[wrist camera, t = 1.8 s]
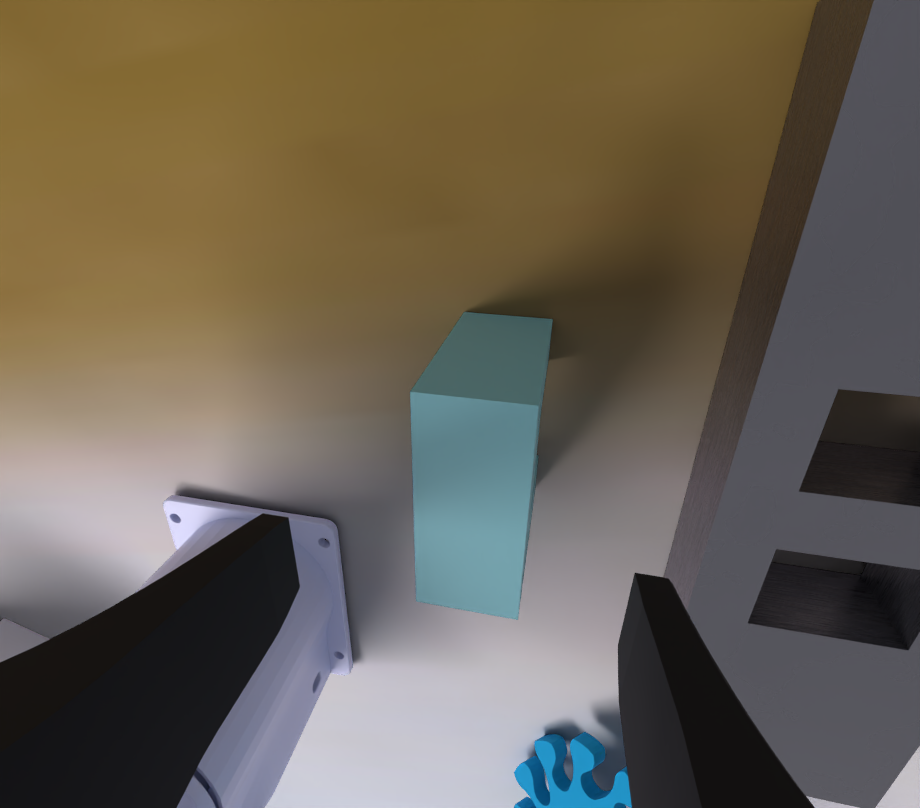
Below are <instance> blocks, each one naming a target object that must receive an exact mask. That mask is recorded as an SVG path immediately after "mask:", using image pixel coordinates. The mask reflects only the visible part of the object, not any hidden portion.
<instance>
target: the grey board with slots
mask: <svg viewBox="0 0 920 808" xmlns="http://www.w3.org/2000/svg"><path fill="white" fill-rule="evenodd" d="M838 389H843V390H853V391H864V392H874V393H885V394H895V395H906V396H917V397H920V0H821V1H819V2H817V6H816V9H815V13H814V17H813V21H812V24H811V28H810V32H809V36H808V39H807V43H806V47H805V50H804V54H803V58H802V62H801V65H800V69H799V73H798V77H797V80H796V84H795V88H794V92H793V95H792V99H791V103H790V107H789V110H788V114H787V118H786V122H785V125H784V129H783V133H782V137H781V140H780V144H779V148H778V151H777V155H776V159H775V163H774V166H773V170H772V174H771V178H770V181H769V185H768V189H767V193H766V196H765V200H764V204H763V208H762V211H761V215H760V219H759V223H758V226H757V230H756V234H755V237H754V241H753V245H752V249H751V252H750V256H749V260H748V264H747V267H746V271H745V275H744V279H743V282H742V286H741V290H740V294H739V297H738V301H737V305H736V309H735V312H734V316H733V320H732V323H731V327H730V331H729V335H728V338H727V342H726V346H725V350H724V353H723V357H722V361H721V365H720V368H719V372H718V376H717V380H716V383H715V387H714V391H713V395H712V398H711V402H710V406H709V410H708V413H707V417H706V421H705V424H704V428H703V432H702V436H701V439H700V443H699V447H698V451H697V454H696V458H695V462H694V466H693V469H692V473H691V477H690V481H689V484H688V488H687V492H686V496H685V499H684V503H683V507H682V510H681V514H680V518H679V522H678V525H677V529H676V533H675V537H674V540H673V544H672V548H671V552H670V555H669V559H668V563H667V567H666V570H665V574H664V578H668V579H669V580H670V581H671V582H672V583H673V585H674V587H675V589H676V591H677V593H678V595H679V597H680V599H681V601H682V603H683V605H684V607H685V609H686V610H687V612H688V614H689V616H690V618H691V620H692V622H693V624H694V625H695V627H696V629H697V631H698V632H699V634H700V636H701V638H702V640H703V641H704V643H705V645H706V647H707V648H708V650H709V652H710V654H711V655H712V657H713V659H714V660H715V662H716V664H717V665H718V667H719V669H720V670H721V672H722V673H723V675H724V677H725V678H726V680H727V682H728V683H729V685H730V686H731V688H732V690H733V691H734V693H735V695H736V696H737V698H738V699H739V701H740V702H741V704H742V706H743V707H744V709H745V710H746V712H747V713H748V715H749V716H750V718H751V719H752V721H753V722H754V724H755V725H756V727H757V728H758V730H759V731H760V733H761V734H762V736H763V737H764V739H765V740H766V741H767V743H768V744H769V746H770V747H771V749H772V750H773V752H774V753H775V755H776V756H777V757H778V759H779V760H780V762H781V763H782V764H783V766H784V767H785V769H786V770H787V771H788V773H789V774H790V775H791V777H792V778H793V780H794V781H795V782H796V784H797V785H798V786H799V788H800V789H801V790H802V792H803V793H804V794H805V796H809V797H813V798H818V799H823V800H827V801H832V802H836V803H841V804H845V805H850V806H855V807H859V808H875V807H876V806H877V804H878V803H879V802H880V800H881V799H882V797H883V796H884V795H885V793H886V792H887V790H888V789H889V788H890V786H891V785H892V783H893V782H894V781H895V779H896V778H897V776H898V775H899V774H900V772H901V771H902V769H903V768H904V767H905V765H906V764H907V762H908V761H909V760H910V758H911V757H912V755H913V754H914V753H915V751H916V750H917V748H918V747H919V746H920V452H912V451H903V450H894V449H885V448H876V447H867V446H858V445H849V444H840V443H831V442H822V441H818V440H819V438H820V435H821V433H822V430H823V428H824V425H825V422H826V420H827V417H828V415H829V412H830V409H831V407H832V404H833V402H834V399H835V397H836V394H837V391H838ZM776 549H779V550H786V551H793V552H800V553H807V554H813V555H820V556H827V557H834V558H841V559H848V560H855V561H862V562H867V564H866V566H865V568H864V570H863V572H862V574H861V576H859V575H852V574H846V573H839V572H832V571H826V570H819V569H812V568H806V567H799V566H792V565H786V564H779V563H772V562H771V561H772V559H773V556H774V554H775V551H776Z"/></svg>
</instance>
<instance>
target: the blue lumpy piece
mask: <svg viewBox="0 0 920 808" xmlns="http://www.w3.org/2000/svg"><path fill="white" fill-rule="evenodd" d="M535 751H536V754H537V756H538V758H539V759H538V758H537V757H536V756H533V757H531V758H530V759H528V760H526V761H525V762H523V763H521V764H520V765H519V766H518V767H517V768H516V770H515V772H514V774H515V777H516V780H517V782H518V783H519V785H520V786H521V787H522V788H523V789H524V790H525V791H526V792H527V794H528V795H529V796H530V798H531V799H532V800H531V799H530V798H529V797H526V798H524V799H523V800H521V801H520V802H518V803H517V804H515V806H514V808H626V806H625V805H627V806H629V807H631V808H632V805H631V797H630V789H629V781H628V773H627V766H626V767H625V768H623V769H622V770H621V771H619V772H618V773H617V774H616V776H615V780H614V785H613V788H612V790H609V791H603V790H602V789H600V788H599V787H598V786H597V785H596V783H595V781H594V779H593V776H592V769H593V768H595V767H596V766H598V765H599V764H600V763H602V762H603V761H604V759H605V755H606V753H605V747H604V746H603V745H602V744H601V743H600V742H599V741H598V740H597V739H595V738H594V737H593V736H591V735H589V734H588V733H586V732H583V733H582V734H580V735H578V736H577V737H575V738H574V739H572V741H571V743H570V751H571V755H572V760H573V771H574V772H573V779H572V782H571V781H570V780H569V779H568V777H567V776H566V774H565V771H564V767H563V763H564V760H565V758H566V755H567V746H566V743H565V741H564V739H563V737H562V736H560V735H557V734H549V735H545V736H543V737H541V738H540V739H538V740H536V741H535ZM540 761H541V762H540ZM543 768H544V769H543ZM544 770H545V773H546V776H547V780H548V784H549V791H550V792H549V791H548V789H547V786H546V783H545V774H544Z"/></svg>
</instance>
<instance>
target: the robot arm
mask: <svg viewBox="0 0 920 808" xmlns="http://www.w3.org/2000/svg"><path fill="white" fill-rule="evenodd" d="M163 507H164V510H165V514H166V517H167V520H168V524H169V527H170V530H171V534H172V537H173V540H174V544H175V547H176V550H177V551H176V552H175V553H174V554H173V555H172V556H171V557H170V558H169V559H168V560H167V561H166V562H165V563H164V564H163V565H162V566H161V567H160V568H159V569H158V570H157V571H156V572H155V573H154V574H153V575H152V576H151V577H150V578H149V579H148V580H147V581H146V582H145V583H144V584H143V585H142V586H141V587H140V588H139V589H138V590H137V591H136V592H135V593H134V594H133V595H131V596H129V597H128V598H126V599H124V600H123V601H121V602H119V603H117V604H116V605H114V606H112V607H111V608H109V609H107V610H105V611H103V612H102V613H100V614H98V615H96V616H94V617H92V618H90V619H89V620H87V621H85V622H83V623H81V624H79V625H77V626H75V627H73V628H71V629H69V630H67V631H65V632H63V633H61V634H59V635H57V636H55V637H53V638H52V639H50V640H48V641H46V642H43V643H41V644H39V645H37V646H35V647H33V648H31V649H29V650H26V651H24V652H22V653H20V654H18V655H15V656H13V657H11V658H9V659H6V660H4V661H2V662H0V808H264V807H265V806H266V805H267V803H268V801H269V800H270V798H271V797H272V795H273V793H274V791H275V789H276V787H277V785H278V783H279V781H280V779H281V777H282V774H283V772H284V770H285V768H286V766H287V764H288V762H289V760H290V757H291V755H292V753H293V751H294V749H295V747H296V745H297V743H298V740H299V738H300V736H301V734H302V732H303V730H304V728H305V726H306V723H307V721H308V719H309V717H310V715H311V713H312V711H313V709H314V706H315V704H316V702H317V700H318V698H319V696H320V694H321V691H322V689H323V687H324V685H325V683H326V681H327V679H328V677H329V674H330V673H334V674H338V675H348V674H349V673H350V672H351V670H352V668H353V660H352V651H351V642H350V634H349V625H348V616H347V607H346V599H345V590H344V581H343V572H342V564H341V555H340V546H339V537H338V530H337V527H336V525H335V524H334V523H333V522H332V521H330V520H327V519H323V518H317V517H311V516H304V515H298V514H291V513H285V512H279V511H272V510H266V509H260V508H253V507H247V506H241V505H234V504H228V503H222V502H215V501H209V500H203V499H196V498H190V497H184V496H177V495H172V496H170V497H168V498H167V499H166V500H165V501H164V503H163ZM325 539H327V540H328V541H329V542H328V541H326V540H325ZM618 684H619V706H620V715H621V723H622V732H623V740H624V748H625V756H626V764H627V773H628V781H629V789H630V797H631V805H632V808H815V807H814V806H813V805H812V804H811V802H810V801H809V800H808V798H807V797H806V796H805V794H804V793H803V792H802V790H801V789H800V788H799V786H798V785H797V784H796V782H795V781H794V780H793V778H792V777H791V775H790V774H789V773H788V771H787V770H786V769H785V767H784V766H783V764H782V763H781V762H780V760H779V759H778V757H777V756H776V755H775V753H774V752H773V750H772V749H771V747H770V746H769V744H768V743H767V741H766V740H765V739H764V737H763V736H762V734H761V733H760V731H759V730H758V728H757V727H756V725H755V724H754V722H753V721H752V719H751V718H750V716H749V715H748V713H747V712H746V710H745V709H744V707H743V706H742V704H741V702H740V701H739V699H738V698H737V696H736V695H735V693H734V691H733V690H732V688H731V686H730V685H729V683H728V682H727V680H726V678H725V677H724V675H723V673H722V672H721V670H720V669H719V667H718V665H717V664H716V662H715V660H714V659H713V657H712V655H711V654H710V652H709V650H708V648H707V647H706V645H705V643H704V641H703V640H702V638H701V636H700V634H699V632H698V631H697V629H696V627H695V625H694V624H693V622H692V620H691V618H690V616H689V614H688V612H687V610H686V609H685V607H684V605H683V603H682V601H681V599H680V597H679V595H678V593H677V591H676V589H675V587H674V585H673V583H672V582H671V581H670V580H669V579H668V578H663V577H657V576H651V575H645V574H638V573H635V574H634V579H633V583H632V587H631V592H630V596H629V600H628V605H627V609H626V613H625V618H624V622H623V626H622V630H621V635H620V639H619V643H618Z"/></svg>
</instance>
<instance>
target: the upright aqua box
mask: <svg viewBox="0 0 920 808" xmlns="http://www.w3.org/2000/svg"><path fill="white" fill-rule="evenodd" d="M552 322H553V319H545V318H533V317H521V316H508V315H496V314H483V313H471V312H464V313H463V314H462V316H461V317H460V319H459V320H458V322H457V323H456V325H455V326H454V328H453V329H452V331H451V332H450V334H449V335H448V337H447V338H446V340H445V341H444V342H443V344H442V345H441V347H440V348H439V350H438V351H437V353H436V354H435V356H434V357H433V359H432V360H431V362H430V363H429V365H428V366H427V368H426V369H425V371H424V372H423V374H422V375H421V377H420V378H419V379H418V381H417V382H416V384H415V385H414V387H413V388H412V390H411V391H410V404H411V440H412V475H413V511H414V547H415V582H416V601H417V602H422V603H428V604H433V605H439V606H444V607H450V608H455V609H461V610H466V611H472V612H477V613H483V614H488V615H494V616H500V617H505V618H511V619H516V620H518V614H519V607H520V599H521V592H522V584H523V577H524V569H525V562H526V554H527V546H528V539H529V531H530V524H531V516H532V509H533V501H534V494H535V486H536V476H537V467H538V457H539V455H537V445H538V436H539V426H540V416H541V407H542V401H543V394H544V387H545V381H546V374H547V367H548V360H549V351H550V341H551V332H552Z"/></svg>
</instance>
